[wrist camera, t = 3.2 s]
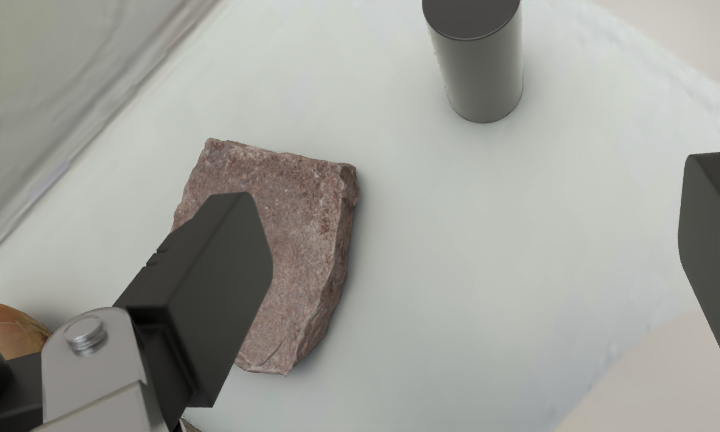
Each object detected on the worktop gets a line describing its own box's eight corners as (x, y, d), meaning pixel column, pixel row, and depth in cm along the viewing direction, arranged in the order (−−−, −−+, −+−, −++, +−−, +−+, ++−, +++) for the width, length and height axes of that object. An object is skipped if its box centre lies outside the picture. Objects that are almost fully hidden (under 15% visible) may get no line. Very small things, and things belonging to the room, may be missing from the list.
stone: (323, 387, 31) (290, 391, 27) (179, 344, 34) (128, 342, 30) (377, 173, 33) (353, 145, 29) (236, 149, 36) (196, 120, 32)
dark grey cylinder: (535, 70, 32) (539, -33, 24) (501, 134, 32) (493, 54, 23) (468, 45, 33) (449, -60, 25) (435, 107, 33) (404, 22, 25)
